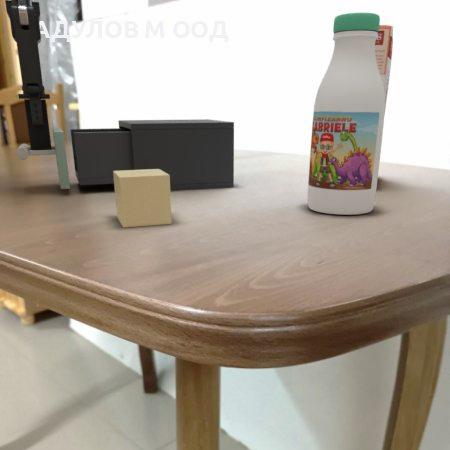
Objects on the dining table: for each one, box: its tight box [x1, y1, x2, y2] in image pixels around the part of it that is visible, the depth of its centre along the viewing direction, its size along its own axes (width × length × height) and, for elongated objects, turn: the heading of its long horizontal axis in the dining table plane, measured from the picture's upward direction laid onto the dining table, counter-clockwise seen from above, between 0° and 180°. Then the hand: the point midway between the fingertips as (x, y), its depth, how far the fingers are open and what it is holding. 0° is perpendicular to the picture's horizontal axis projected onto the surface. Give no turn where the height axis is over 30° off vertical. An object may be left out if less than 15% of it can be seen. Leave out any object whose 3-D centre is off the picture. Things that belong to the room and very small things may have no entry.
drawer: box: [16, 127, 133, 190], centre depth 70 cm, size 18×11×7 cm, turn 109°
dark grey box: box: [118, 118, 235, 192], centre depth 74 cm, size 15×13×9 cm
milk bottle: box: [307, 12, 386, 216], centre depth 54 cm, size 8×8×20 cm
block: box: [113, 169, 173, 228], centre depth 51 cm, size 5×5×5 cm
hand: (41, 149), depth 68 cm, fingers closed
